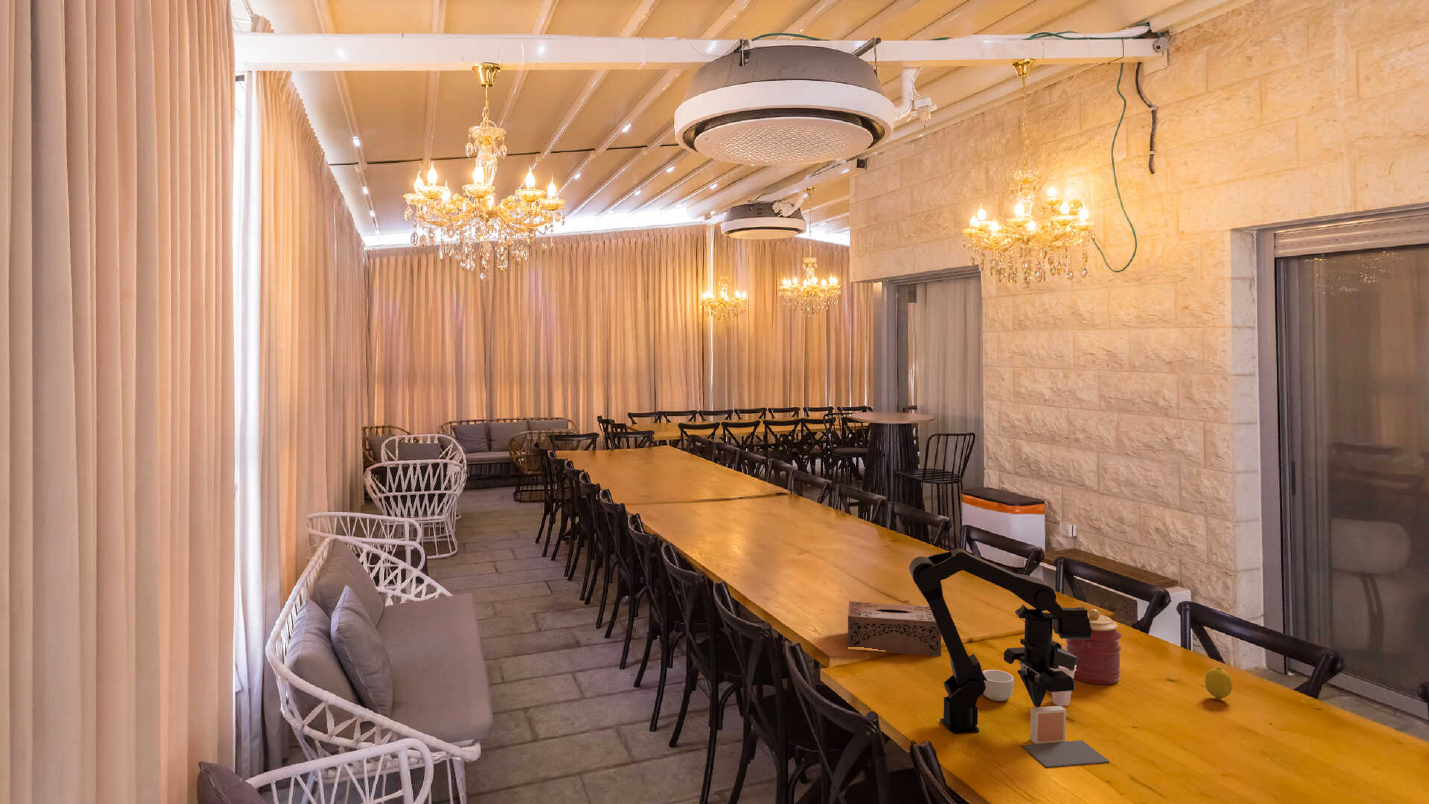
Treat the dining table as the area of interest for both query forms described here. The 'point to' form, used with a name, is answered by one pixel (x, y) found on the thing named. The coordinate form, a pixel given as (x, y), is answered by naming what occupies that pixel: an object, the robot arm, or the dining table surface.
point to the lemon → (1218, 683)
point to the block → (1048, 724)
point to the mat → (1065, 753)
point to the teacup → (998, 685)
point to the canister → (1097, 651)
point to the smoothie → (1063, 696)
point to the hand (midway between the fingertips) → (1037, 706)
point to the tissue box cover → (893, 628)
